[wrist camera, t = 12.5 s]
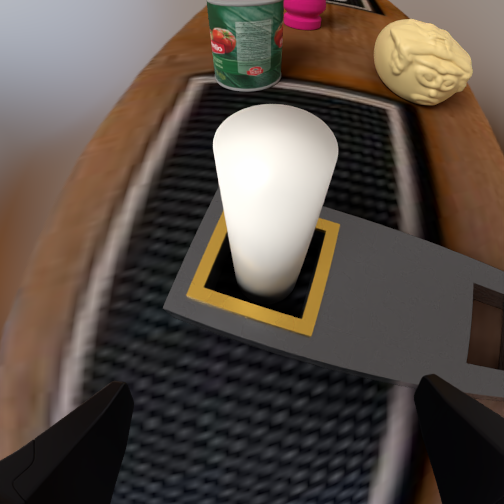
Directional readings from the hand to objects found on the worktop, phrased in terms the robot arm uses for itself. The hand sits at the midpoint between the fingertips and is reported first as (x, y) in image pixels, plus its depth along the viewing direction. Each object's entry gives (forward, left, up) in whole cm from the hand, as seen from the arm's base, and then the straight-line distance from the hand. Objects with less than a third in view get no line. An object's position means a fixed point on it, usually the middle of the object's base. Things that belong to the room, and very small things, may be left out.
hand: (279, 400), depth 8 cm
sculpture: (+38, -4, -11) cm, 40 cm away
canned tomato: (+29, +15, -11) cm, 35 cm away
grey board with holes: (+8, -6, -11) cm, 15 cm away
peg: (+7, +3, -11) cm, 13 cm away
